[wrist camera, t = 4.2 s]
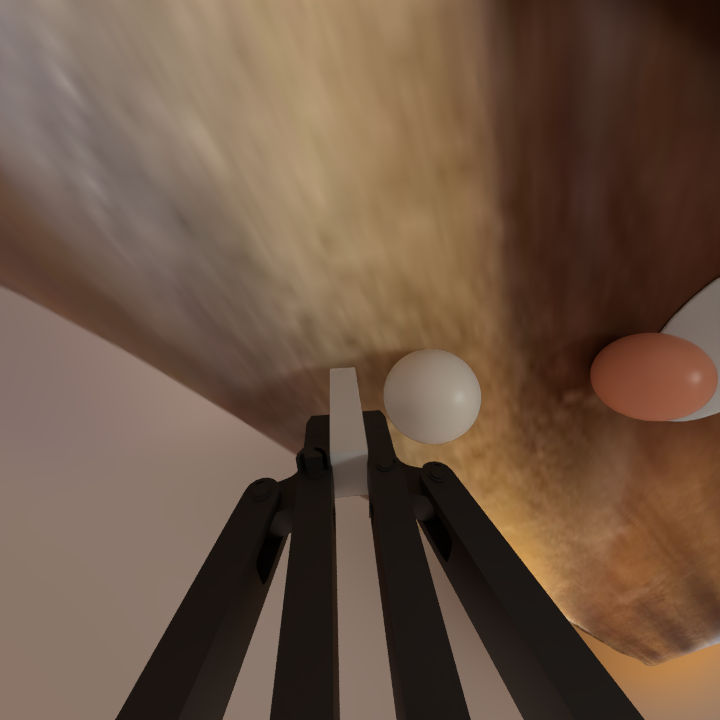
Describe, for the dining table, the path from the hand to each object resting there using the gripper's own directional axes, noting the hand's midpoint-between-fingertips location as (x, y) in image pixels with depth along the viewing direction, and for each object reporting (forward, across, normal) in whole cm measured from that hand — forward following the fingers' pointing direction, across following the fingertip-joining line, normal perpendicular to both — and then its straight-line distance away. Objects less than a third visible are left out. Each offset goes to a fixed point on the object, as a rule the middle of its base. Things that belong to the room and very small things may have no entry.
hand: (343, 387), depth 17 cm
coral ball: (-1, +19, 0) cm, 19 cm away
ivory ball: (-1, +5, 0) cm, 5 cm away
